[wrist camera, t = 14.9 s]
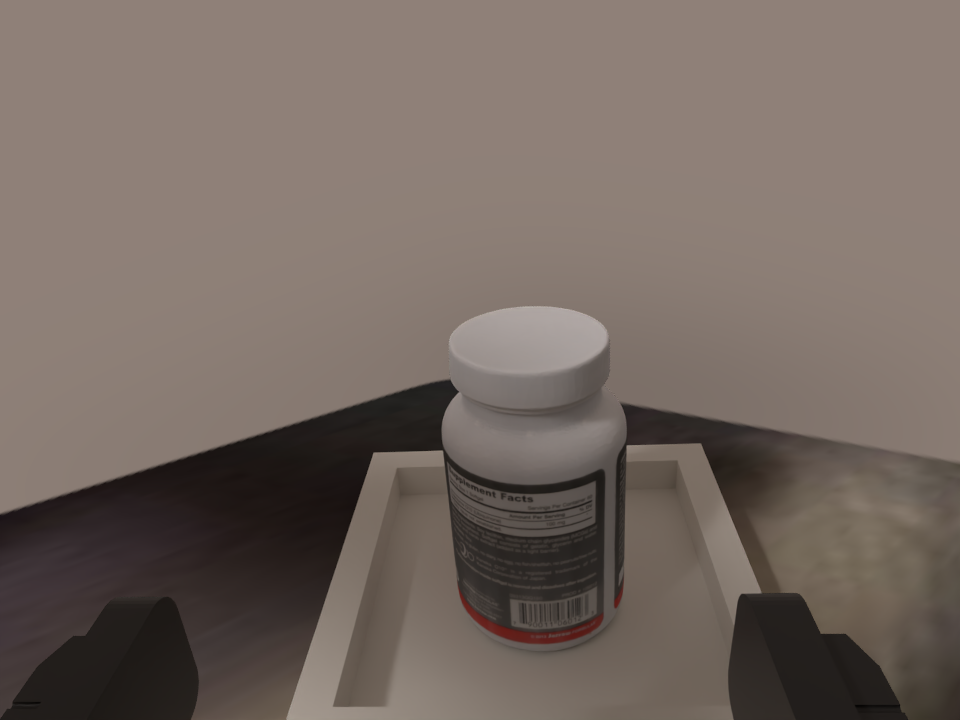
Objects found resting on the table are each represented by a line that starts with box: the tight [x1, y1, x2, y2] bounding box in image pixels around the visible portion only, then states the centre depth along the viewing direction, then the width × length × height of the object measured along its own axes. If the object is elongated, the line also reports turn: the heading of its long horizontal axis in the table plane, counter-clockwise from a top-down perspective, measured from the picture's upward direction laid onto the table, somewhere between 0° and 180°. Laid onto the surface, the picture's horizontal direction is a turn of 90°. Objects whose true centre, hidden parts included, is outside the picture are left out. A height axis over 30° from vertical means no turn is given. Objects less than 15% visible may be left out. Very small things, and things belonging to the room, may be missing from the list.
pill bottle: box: [442, 306, 627, 651], centre depth 23 cm, size 6×6×10 cm
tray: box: [286, 444, 762, 720], centre depth 25 cm, size 14×14×2 cm
